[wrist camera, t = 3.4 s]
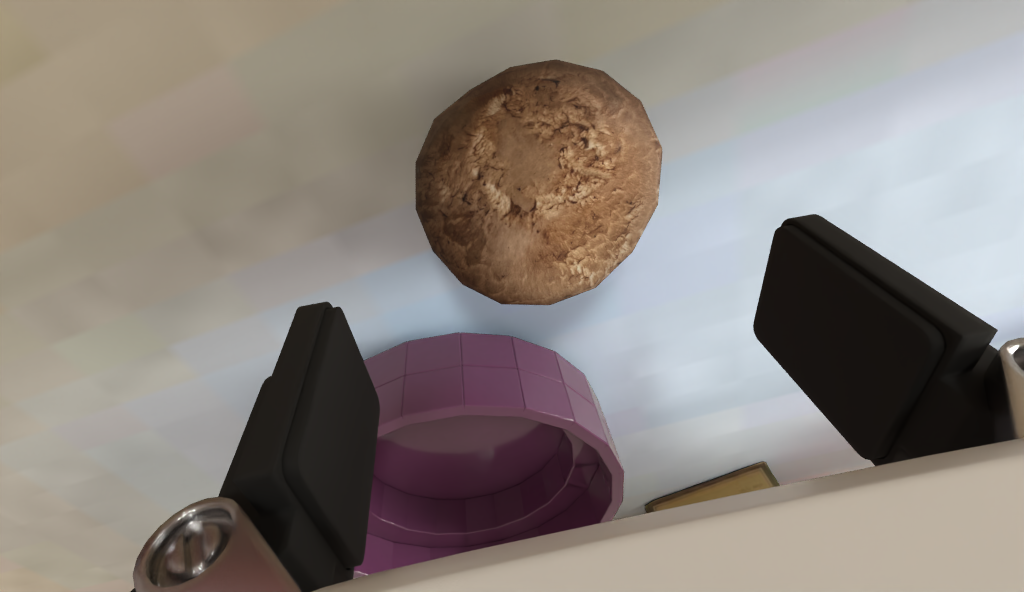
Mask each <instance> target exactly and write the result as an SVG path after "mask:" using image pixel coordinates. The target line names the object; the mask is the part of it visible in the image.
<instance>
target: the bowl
mask: <svg viewBox="0 0 1024 592" xmlns="http://www.w3.org/2000/svg"><path fill="white" fill-rule="evenodd" d="M364 363H365V366H366V368H367V371H368V373H369V376H370V378H371V380H372V383H373V385H374V388H375V390H376V392H377V395H378V398H379V403H380V416H379V426H378V435H377V444H376V454H375V463H374V473H373V482H372V491H371V501H370V510H369V519H368V529H367V538H366V547H365V556H364V560H363V563H362V565H360V566H355V567H354V575H353V578H359V577H363V576H366V575H370V574H373V573H377V572H382V571H386V570H390V569H395V568H399V567H403V566H408V565H412V564H416V563H421V562H425V561H429V560H434V559H438V558H442V557H446V556H451V555H455V554H459V553H464V552H468V551H472V550H477V549H482V548H487V547H491V546H496V545H501V544H505V543H510V542H515V541H519V540H524V539H529V538H533V537H538V536H543V535H547V534H552V533H557V532H561V531H566V530H571V529H576V528H580V527H585V526H590V525H594V524H599V523H604V522H608V521H612V519H613V517H614V515H615V514H616V512H617V510H618V508H619V506H620V505H621V503H622V501H623V484H624V470H623V467H622V465H621V462H620V459H619V456H618V453H617V451H616V448H615V445H614V442H613V440H612V437H611V434H610V431H609V428H608V426H607V423H606V420H605V417H604V415H603V412H602V409H601V406H600V403H599V401H598V399H597V397H596V395H595V393H594V391H593V390H592V388H591V386H590V384H589V382H588V380H587V378H586V377H585V375H584V374H583V373H582V372H581V371H579V370H578V369H577V368H576V367H574V366H573V365H572V364H570V363H569V362H568V361H567V360H565V359H564V358H563V357H562V356H560V355H559V354H558V353H556V352H555V351H553V350H550V349H547V348H544V347H541V346H538V345H536V344H533V343H530V342H527V341H524V340H521V339H518V338H516V337H511V336H505V335H491V334H477V333H463V332H462V333H459V332H458V333H452V334H446V335H440V336H434V337H429V338H423V339H417V340H411V341H408V342H407V341H406V342H404V343H402V344H400V345H397V346H395V347H393V348H391V349H389V350H386V351H384V352H382V353H380V354H378V355H375V356H373V357H371V358H369V359H366V360H364Z"/></svg>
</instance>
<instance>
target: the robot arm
mask: <svg viewBox="0 0 1024 592" xmlns="http://www.w3.org/2000/svg"><path fill="white" fill-rule="evenodd" d="M753 328H754V333H755V335H756V337H757V339H758V340H759V341H760V343H761V344H762V345H763V346H764V347H765V348H766V349H767V351H768V352H769V353H770V354H771V355H772V356H773V357H774V358H775V360H776V361H777V362H778V363H779V364H780V365H781V366H782V368H783V369H784V370H785V371H786V372H787V373H788V374H789V376H790V377H791V378H792V379H793V380H794V381H795V382H796V384H797V385H798V386H799V387H800V388H801V389H802V390H803V392H804V393H805V394H806V395H807V396H808V397H809V398H810V399H811V401H812V402H813V403H814V404H815V405H816V406H817V407H818V409H819V410H820V411H821V412H822V413H823V414H824V415H825V417H826V418H827V419H828V420H829V421H830V422H831V423H832V425H833V426H834V427H835V428H836V429H837V430H838V431H839V433H840V434H841V435H842V436H843V437H844V438H845V439H846V440H847V442H848V443H849V444H850V445H851V446H852V447H853V448H854V450H855V451H856V452H857V453H858V454H859V455H860V456H861V457H863V458H865V459H868V460H871V461H872V463H873V464H874V465H875V467H870V468H865V469H860V470H855V471H850V472H845V473H840V474H835V475H830V476H825V477H820V478H815V479H810V480H805V481H800V482H796V483H791V484H786V485H781V486H776V487H771V488H767V489H762V490H757V491H752V492H747V493H742V494H738V495H733V496H728V497H723V498H718V499H713V500H709V501H704V502H699V503H694V504H689V505H685V506H680V507H675V508H670V509H666V510H661V511H656V512H651V513H646V514H642V515H637V516H632V517H627V518H622V519H618V520H613V521H608V522H604V523H599V524H594V525H590V526H585V527H580V528H576V529H571V530H566V531H561V532H557V533H552V534H547V535H543V536H538V537H533V538H529V539H524V540H519V541H515V542H510V543H505V544H501V545H496V546H491V547H487V548H482V549H477V550H472V551H468V552H464V553H459V554H455V555H451V556H446V557H442V558H438V559H434V560H429V561H425V562H421V563H416V564H412V565H408V566H403V567H399V568H395V569H390V570H386V571H382V572H377V573H373V574H370V575H366V576H363V577H359V578H355V579H353V575H354V567H355V566H360V565H362V563H363V560H364V556H365V547H366V538H367V529H368V519H369V510H370V501H371V491H372V482H373V473H374V463H375V454H376V444H377V435H378V426H379V416H380V403H379V398H378V395H377V392H376V390H375V388H374V385H373V383H372V380H371V378H370V376H369V373H368V371H367V368H366V366H365V363H364V361H363V359H362V356H361V354H360V351H359V349H358V347H357V344H356V342H355V339H354V337H353V335H352V332H351V330H350V327H349V325H348V322H347V320H346V318H345V315H344V313H343V311H342V309H341V308H340V307H334V308H333V307H332V305H331V304H330V303H329V302H323V303H317V304H312V305H306V306H301V307H298V309H297V311H296V313H295V316H294V319H293V321H292V324H291V327H290V329H289V332H288V334H287V337H286V340H285V342H284V345H283V348H282V350H281V353H280V356H279V358H278V361H277V363H276V366H275V369H274V371H273V374H272V376H270V377H268V378H267V379H266V380H265V381H264V383H263V385H262V387H261V389H260V392H259V394H258V397H257V399H256V402H255V404H254V407H253V410H252V412H251V415H250V417H249V420H248V422H247V425H246V427H245V430H244V432H243V435H242V437H241V440H240V443H239V445H238V448H237V450H236V453H235V455H234V458H233V460H232V463H231V465H230V468H229V471H228V473H227V476H226V478H225V481H224V483H223V486H222V488H221V491H220V493H219V496H218V497H215V498H207V499H204V500H201V501H198V502H196V503H193V504H190V505H189V506H187V507H185V508H184V509H182V510H180V511H179V512H177V513H175V514H174V515H173V516H171V517H170V518H169V519H168V520H167V521H166V522H164V523H163V524H162V525H161V526H160V527H159V528H158V529H157V530H156V531H155V532H154V534H153V535H152V536H151V537H150V538H149V539H148V541H147V542H146V543H145V545H144V547H143V549H142V550H141V552H140V554H139V556H138V558H137V560H136V564H135V568H134V572H133V579H134V587H135V588H134V589H133V590H132V591H131V592H1024V338H1018V339H1014V340H1011V341H1007V342H1006V343H1005V344H1004V345H1003V346H1002V347H1001V348H1000V350H999V351H998V350H996V349H995V348H993V347H992V346H990V345H989V343H990V342H991V340H992V339H993V337H994V335H995V334H996V332H997V331H998V330H997V329H995V328H994V327H992V326H991V325H989V324H987V323H986V322H984V321H983V320H981V319H980V318H978V317H977V316H975V315H973V314H972V313H970V312H969V311H967V310H966V309H964V308H963V307H961V306H959V305H958V304H956V303H955V302H953V301H952V300H950V299H949V298H947V297H945V296H944V295H942V294H941V293H939V292H938V291H936V290H935V289H933V288H931V287H930V286H928V285H927V284H925V283H924V282H922V281H921V280H919V279H917V278H916V277H914V276H913V275H911V274H910V273H908V272H907V271H905V270H903V269H902V268H900V267H899V266H897V265H896V264H894V263H893V262H891V261H889V260H888V259H886V258H885V257H883V256H882V255H880V254H879V253H877V252H875V251H874V250H872V249H871V248H869V247H868V246H866V245H865V244H863V243H861V242H860V241H858V240H857V239H855V238H854V237H852V236H851V235H849V234H847V233H846V232H844V231H843V230H841V229H840V228H838V227H837V226H835V225H833V224H832V223H830V222H829V221H827V220H826V219H824V218H823V217H821V216H819V215H816V214H813V215H806V216H801V217H795V218H790V219H787V220H785V221H784V222H783V223H782V225H781V227H779V228H777V230H776V231H775V233H774V237H773V241H772V245H771V250H770V254H769V258H768V263H767V267H766V271H765V276H764V280H763V284H762V289H761V293H760V297H759V302H758V306H757V310H756V315H755V319H754V324H753Z"/></svg>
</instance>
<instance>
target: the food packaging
mask: <svg viewBox="0 0 1024 592" xmlns="http://www.w3.org/2000/svg"><path fill="white" fill-rule="evenodd" d="M776 486H780V485H779V483H778V482H777V480H776V479H775V477H774V476H773V474H772V472H771V471H770V469H769V467H768V465H767V463H766V462H761V463H757V464H755V465H752V466H749V467H746V468H744V469H741V470H738V471H735V472H732V473H730V474H727V475H724V476H721V477H718V478H715V479H712V480H709V481H706V482H704V483H701V484H698V485H695V486H693V487H690V488H687V489H684V490H682V491H679V492H677V493H674V494H671V495H668V496H666V497H663V498H660V499H657V500H654V501H652V502H651V503H649V504H647V505H646V506H645V509H646V512H647V513H651V512H656V511H661V510H666V509H670V508H675V507H680V506H685V505H689V504H694V503H699V502H704V501H709V500H713V499H718V498H723V497H728V496H733V495H738V494H742V493H747V492H752V491H757V490H762V489H767V488H771V487H776Z"/></svg>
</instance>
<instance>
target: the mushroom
mask: <svg viewBox="0 0 1024 592" xmlns="http://www.w3.org/2000/svg"><path fill="white" fill-rule="evenodd" d="M661 161H662V147H661V145H660V143H659V140H658V138H657V136H656V134H655V131H654V129H653V127H652V125H651V123H650V120H649V118H648V116H647V114H646V111H645V109H644V107H643V105H642V103H641V101H640V100H639V99H637V98H636V97H635V96H634V95H632V94H631V93H630V92H629V91H627V90H626V89H625V88H624V87H622V86H621V85H620V84H619V83H617V82H616V81H615V80H614V79H612V78H611V77H610V76H609V75H607V74H606V73H605V72H604V71H601V70H597V69H593V68H589V67H584V66H580V65H576V64H572V63H568V62H564V61H560V60H550V61H544V62H538V63H532V64H526V65H520V66H514V67H510V68H508V69H506V70H504V71H503V72H501V73H499V74H497V75H496V76H494V77H492V78H490V79H489V80H487V81H485V82H483V83H481V84H480V85H478V86H476V87H474V88H473V89H471V90H469V91H468V92H467V93H466V94H464V95H463V96H462V97H461V98H460V99H458V100H457V101H456V102H455V103H453V104H452V105H451V106H450V107H448V108H447V109H446V110H445V111H444V112H442V113H441V114H440V115H439V116H437V117H436V118H435V119H434V121H433V124H432V126H431V128H430V131H429V133H428V135H427V138H426V140H425V142H424V144H423V147H422V149H421V151H420V154H419V156H418V158H417V161H416V211H417V214H418V216H419V218H420V221H421V223H422V226H423V228H424V231H425V233H426V236H427V238H428V240H429V243H430V245H431V248H432V250H433V252H434V253H435V254H436V255H437V256H438V257H439V258H440V259H441V261H442V262H443V263H444V264H445V265H446V266H447V267H448V269H449V270H450V271H451V272H452V273H453V274H454V275H455V276H456V278H457V279H458V280H459V281H460V282H461V283H462V284H463V285H465V286H467V287H469V288H471V289H473V290H475V291H477V292H479V293H481V294H483V295H485V296H487V297H489V298H490V299H492V300H494V301H496V302H498V303H500V304H521V305H551V304H554V303H557V302H559V301H562V300H564V299H567V298H570V297H572V296H575V295H578V294H580V293H583V292H585V291H588V290H591V289H593V288H596V287H597V286H598V285H599V284H600V283H601V282H602V281H603V280H604V279H605V278H606V277H607V276H608V275H609V274H610V273H611V272H612V271H613V270H614V269H615V268H616V267H617V266H618V265H619V264H620V263H621V262H622V261H623V260H624V259H625V258H627V257H628V256H629V255H630V254H631V253H632V252H633V250H634V248H635V246H636V244H637V242H638V241H639V239H640V237H641V235H642V233H643V231H644V229H645V227H646V226H647V224H648V222H649V220H650V218H651V216H652V214H653V213H654V211H655V209H656V207H657V205H658V196H659V184H660V173H661Z"/></svg>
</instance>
